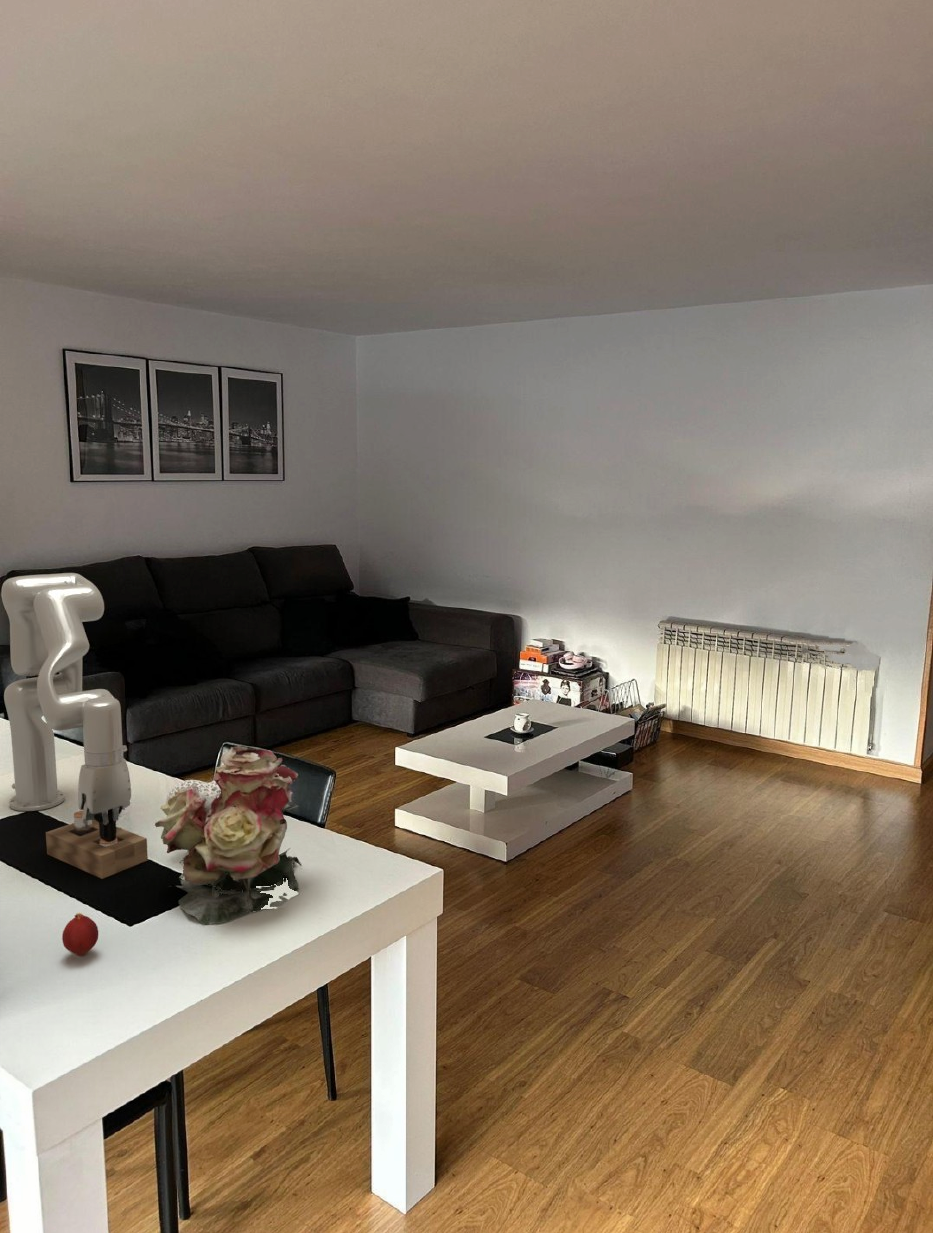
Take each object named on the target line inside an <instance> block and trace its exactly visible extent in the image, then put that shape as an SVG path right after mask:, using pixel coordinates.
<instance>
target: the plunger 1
mask: <svg viewBox="0 0 933 1233" xmlns="http://www.w3.org/2000/svg"><path fill="white" fill-rule="evenodd" d="M82 815H83V810H79V811H77V812H76V811H75V813H73V823H74V828H75V834H76V835H78V836H83V835H86V834H88V833H91V832H93V829H92V820H85V819H83V818H82Z"/></svg>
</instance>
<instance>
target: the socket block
mask: <svg viewBox="0 0 933 1233" xmlns="http://www.w3.org/2000/svg"><path fill="white" fill-rule="evenodd" d="M92 829H93V832H91V833H88V834H86V835H83V836H78V835H76V834H75V828H74V822H72V823H70V824H66V825H64V826H60V827H58V828H55V829H52V830H49V831H45V842H46V843H45V844H46V854H47V855H48V856H50V857H53V858H55V859H57V860H59V861H62V862H64V863H66V864H68V865H71V866H73V867H75V868H77V869H79V870H82V871H84V872H86V873H88V874H90V875H93V876H94V877H97V878H99V879H102V880H103V879H106V878H108V877H111V876H113V875H116V874H118V873H120V872H123V871H125V870H127V869H130V868H133V867H135V866H137V865H138V866H139V865H140V864H141V863H145V862H147V861H149V858H148V855H149V854H148V838H147V837H144V836H142V835H139V834H136V833H133V832H131V831H129V830H126V829H124V828H121V827H119V826H116V837H117V839H118V842H117V843H114V844H112V845H109V846H106V847H104V846H102V845H100V843H99V842H100V839H101V837H100V833H99V822H97V821H96V820H92Z"/></svg>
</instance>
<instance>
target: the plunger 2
mask: <svg viewBox="0 0 933 1233" xmlns="http://www.w3.org/2000/svg"><path fill="white" fill-rule="evenodd" d="M117 842H118V839H117V837H116V839H115V840H112V841H110V842H108V841H105V840H103V839H100V842H99V843H100V845H102V846H104V847H106V846H109V845H112V844H114V843H117Z"/></svg>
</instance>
